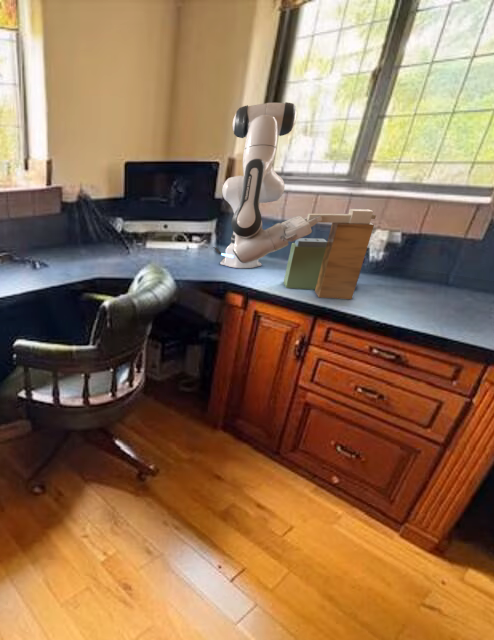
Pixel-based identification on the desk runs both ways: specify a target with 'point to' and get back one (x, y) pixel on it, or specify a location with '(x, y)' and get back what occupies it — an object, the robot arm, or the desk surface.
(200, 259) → the desk surface
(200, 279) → the desk surface
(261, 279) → the desk surface
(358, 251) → the oak stand
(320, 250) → the green upright rectangular block
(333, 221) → the beige stepped bar
